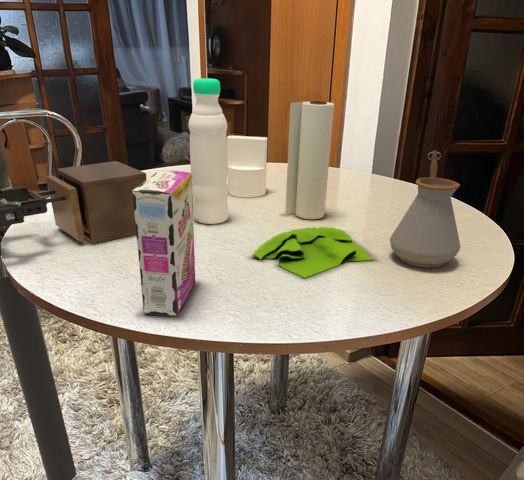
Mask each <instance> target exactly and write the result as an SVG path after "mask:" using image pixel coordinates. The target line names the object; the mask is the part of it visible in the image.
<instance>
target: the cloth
mask: <svg viewBox="0 0 524 480" xmlns="http://www.w3.org/2000/svg"><path fill="white" fill-rule="evenodd" d="M255 250H256V251H255V252H253V254H252V256H251V257H252V258H256V259H259V260H260V261H261V260H262V259H264V260H272V259H276V258H277V256H278V254H279V253H281V255H279V258H278V259H277V263H278V266H280V268H282V269H284V270H286V271H288V272H291V273H292V274H295V275H297V276H299V277H301V278H303V279H306V278H310V277H312V276H314V275H315V276H316V275H317V274H320V273H323V272H325V271H328V270H330V269H334V268H336V267H338V266H340V265H341V264H342V263H346V262H367V261H374V260H375V259H374V258H373V257H372V256H371V255H370V254H369V253H368V252H366V251H365V250H364V249H363V248H362V247H360V246H359V245H358V244H357V243H355V242H354V241H352V238H351V236H350V235H349V234H348V233H346V231H344V230H342V229H339V228H335V227H328V226H322V227H321V226H319V227H304V228H298V229H293V230H290V231H287V232H281V233H279V234H276V235H274V236H272V238H270V239H268V240H267V241H266V242H263V244H262V245H260V246H259V247H258V248H257V249H255Z"/></svg>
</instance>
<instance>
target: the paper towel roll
mask: <svg viewBox="0 0 524 480" xmlns="http://www.w3.org/2000/svg"><path fill="white" fill-rule="evenodd" d="M289 106H290V107H289V124H288V125H289V126H288V144H287V145H288V148H287V164H286V165H287V166H286V168H287V169H286V170H287V171H286V188H285V189H286V190H285V191H286V192H285V207H284V208H285V210H284V214H285V215H289V214H293V213H295V216H296V217H298V218H301V219H305V220H320V219H323V217H325V212H326V201H327V189H328V178H329V169H330V168H329V167H330V157H331V147H332V136H333V123H334V113H335V103H332V102H328V101H321V100H311V101H298V102H296V101H295V102H290V105H289Z"/></svg>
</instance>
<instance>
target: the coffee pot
mask: <svg viewBox="0 0 524 480" xmlns="http://www.w3.org/2000/svg"><path fill="white" fill-rule="evenodd" d="M430 155H431V157H429V156H430ZM438 155H439V156H438ZM427 158H428V160H430V161H431V163H430V166H429V175H430V176H429V177H421V178H417V179H416V180H415V184H416V186H417V194H416V196H415V197H414V199H413V201H412V202H411V204H410V205H409V207H408V209H407V210H406V212H405V214H403V217H402V218H401V220H400V221H399V223H398V224H397V226H396V228H395V229H394V230H393V233H392V234H391V236H390V238H389V243H390V247H391V250H392V251H393V253H395V255H397V257H398V259H399V260H400V261H401V262H403V263H404V264H407V265H409V266H414V267H419V268H427V269H430V268H431V269H432V268H439V267H441V266H444V264H445V263H448V262H450V261H451V260H453V259H454V258H455V257H456V256H457V255H458V254H459V252H460V250H461V242H460V237H459V232H458V227H457V221H456V217H455V212H454V207H453V201H452V196H453V195H454V193H455V192H456V191H457V190H458V188H460V187H461V184H460V183H458V182H456V181H454V180H451V179H447V178H440V177H437V175H438V167H439V164H438V161H439V160H440V159H441V158H442V154H441V153H440V152H439V151H437V150H436V149H434V150H432V151H431V152H429V153H428V154H427Z"/></svg>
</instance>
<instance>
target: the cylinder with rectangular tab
mask: <svg viewBox="0 0 524 480" xmlns="http://www.w3.org/2000/svg"><path fill="white" fill-rule="evenodd" d="M226 137H227V157H228V168H227V186H228V195H231V196H233V197H240V198H258V197H262V196H264V195H266V193H267V164H268V163H267V162H268V161H267V160H268V137H267V136H266V137H265V136H249V135H248V136H246V135H228V136H226Z"/></svg>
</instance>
